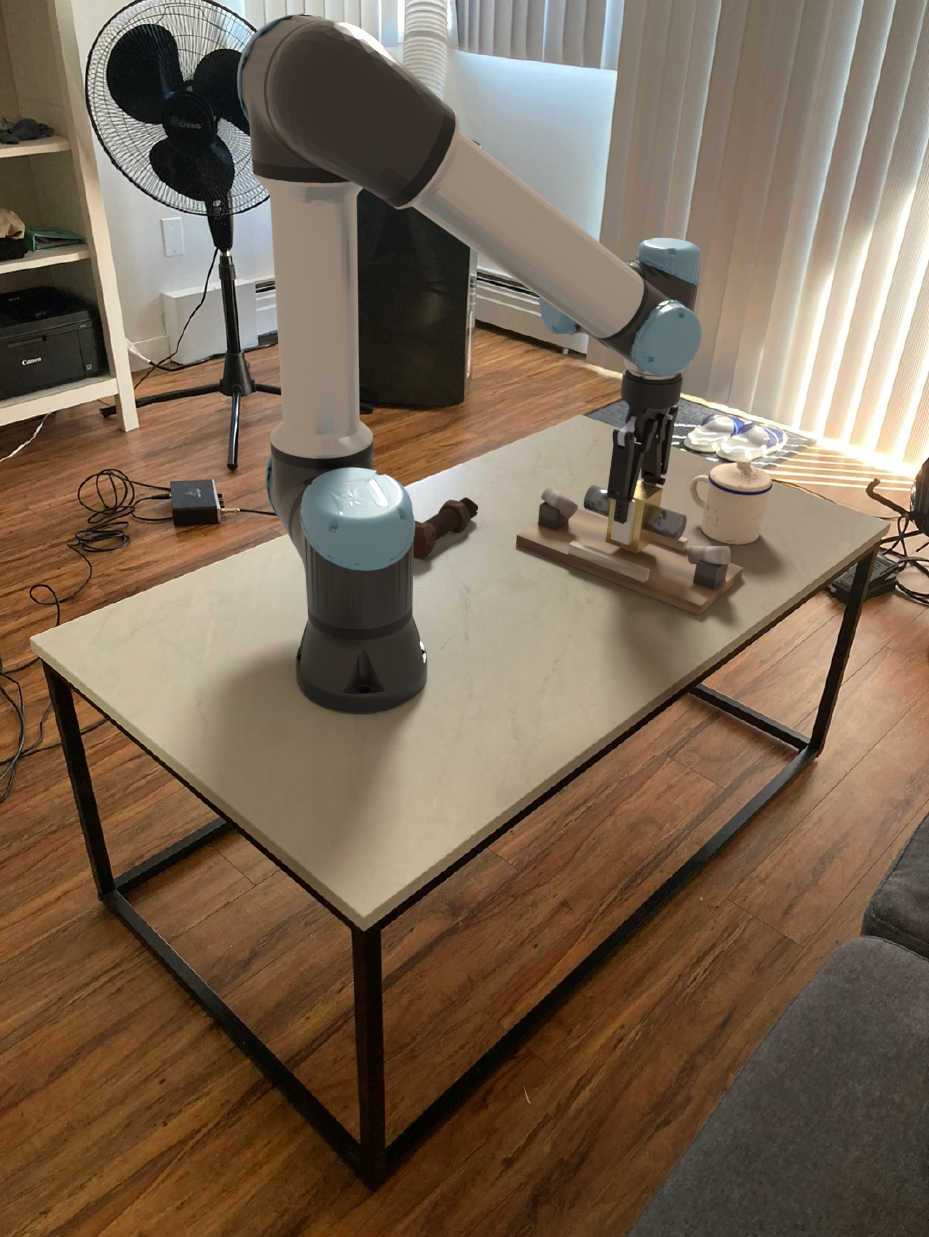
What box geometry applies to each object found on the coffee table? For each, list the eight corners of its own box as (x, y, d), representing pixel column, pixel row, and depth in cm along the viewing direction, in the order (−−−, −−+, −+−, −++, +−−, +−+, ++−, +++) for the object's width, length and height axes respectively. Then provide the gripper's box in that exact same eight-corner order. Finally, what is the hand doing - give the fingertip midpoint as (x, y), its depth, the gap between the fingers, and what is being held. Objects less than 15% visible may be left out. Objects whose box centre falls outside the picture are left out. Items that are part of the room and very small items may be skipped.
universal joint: (666, 564, 133) (675, 511, 128) (578, 532, 140) (583, 480, 135) (683, 550, 136) (692, 498, 132) (596, 519, 143) (602, 468, 139)
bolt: (473, 530, 149) (416, 567, 138) (450, 507, 150) (391, 542, 139) (492, 505, 146) (434, 541, 134) (467, 481, 146) (408, 516, 135)
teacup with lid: (771, 531, 148) (787, 459, 142) (743, 552, 143) (759, 479, 136) (699, 506, 155) (712, 436, 148) (670, 525, 149) (682, 454, 142)
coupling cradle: (699, 615, 128) (708, 567, 124) (515, 543, 142) (518, 498, 138) (741, 577, 137) (751, 531, 133) (564, 513, 151) (568, 469, 147)
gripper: (645, 396, 116) (621, 567, 129) (712, 359, 129) (685, 518, 141) (590, 381, 120) (573, 548, 133) (661, 347, 132) (638, 503, 145)
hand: (630, 533), depth 137 cm, fingers closed on universal joint, 5 cm apart
